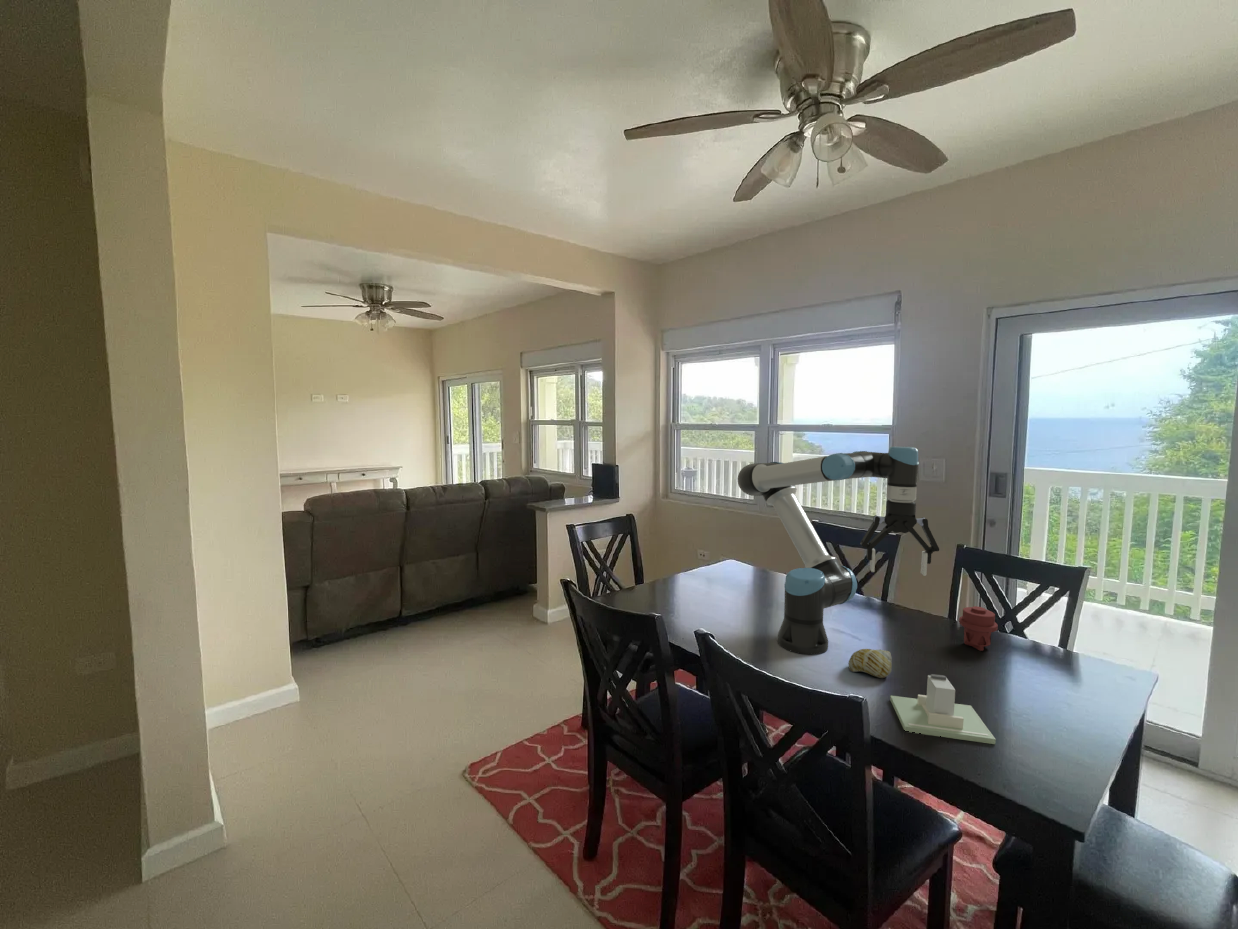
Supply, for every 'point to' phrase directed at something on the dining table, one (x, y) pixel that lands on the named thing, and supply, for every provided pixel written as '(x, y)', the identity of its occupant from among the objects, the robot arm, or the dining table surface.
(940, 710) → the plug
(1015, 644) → the dining table surface
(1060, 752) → the dining table surface
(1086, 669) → the dining table surface
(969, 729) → the board
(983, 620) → the mechanical component
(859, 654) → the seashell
